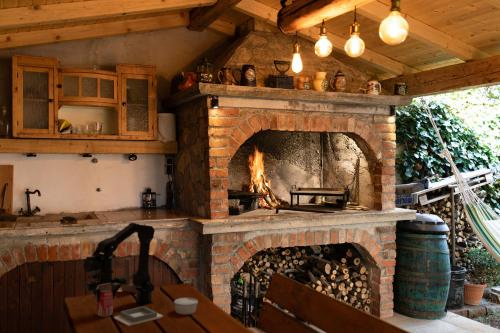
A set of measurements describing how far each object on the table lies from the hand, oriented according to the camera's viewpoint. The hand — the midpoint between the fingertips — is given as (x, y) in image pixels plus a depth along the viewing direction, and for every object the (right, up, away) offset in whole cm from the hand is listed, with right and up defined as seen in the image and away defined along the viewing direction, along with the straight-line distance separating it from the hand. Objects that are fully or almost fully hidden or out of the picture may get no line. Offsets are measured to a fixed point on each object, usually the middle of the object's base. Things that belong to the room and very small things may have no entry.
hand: (105, 301), depth 214 cm
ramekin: (+37, -8, +8) cm, 38 cm away
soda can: (0, -7, 0) cm, 7 cm away
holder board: (+16, -7, -3) cm, 18 cm away
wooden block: (+2, -6, +39) cm, 40 cm away
